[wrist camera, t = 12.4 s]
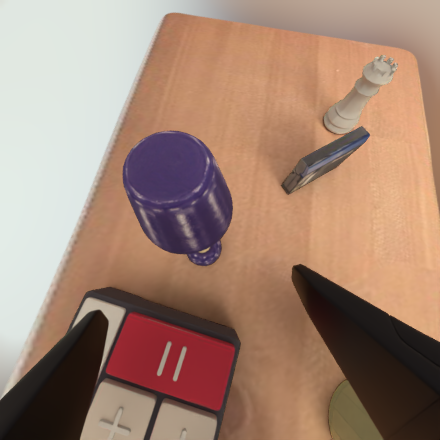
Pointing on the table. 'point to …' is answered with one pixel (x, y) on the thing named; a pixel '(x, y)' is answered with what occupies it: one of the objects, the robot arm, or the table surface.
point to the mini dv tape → (324, 159)
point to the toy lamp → (179, 195)
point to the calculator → (158, 371)
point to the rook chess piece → (359, 95)
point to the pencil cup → (350, 416)
